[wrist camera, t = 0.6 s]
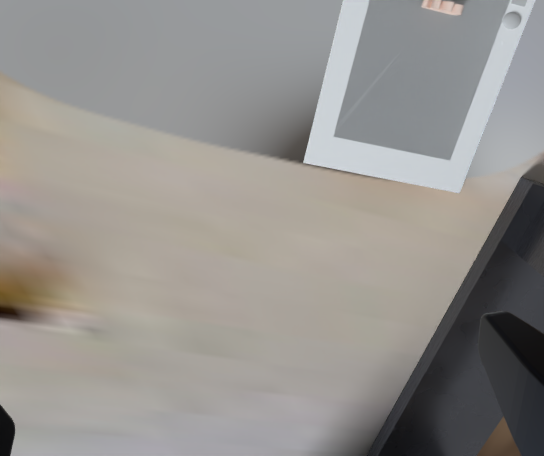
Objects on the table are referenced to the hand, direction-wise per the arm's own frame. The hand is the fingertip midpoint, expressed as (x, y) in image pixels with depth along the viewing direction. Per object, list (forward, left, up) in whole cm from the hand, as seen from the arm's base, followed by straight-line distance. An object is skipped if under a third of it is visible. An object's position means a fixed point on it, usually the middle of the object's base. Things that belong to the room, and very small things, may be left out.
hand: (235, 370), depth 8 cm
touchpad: (+9, -6, -15) cm, 18 cm away
